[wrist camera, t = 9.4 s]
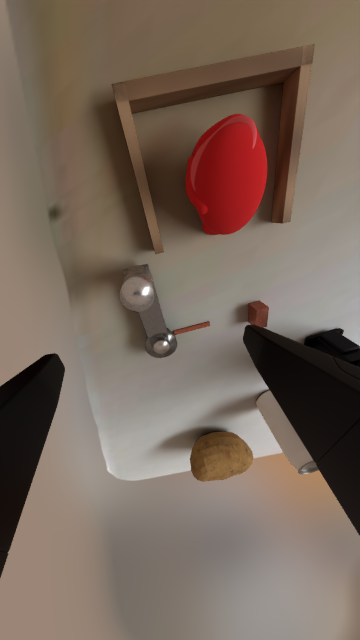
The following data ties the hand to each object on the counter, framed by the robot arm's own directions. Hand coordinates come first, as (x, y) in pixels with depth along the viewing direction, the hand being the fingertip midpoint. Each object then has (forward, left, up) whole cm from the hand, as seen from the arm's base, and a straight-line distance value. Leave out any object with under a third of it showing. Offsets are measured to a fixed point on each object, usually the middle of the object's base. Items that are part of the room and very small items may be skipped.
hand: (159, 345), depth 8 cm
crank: (-5, +1, -11) cm, 12 cm away
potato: (-41, -4, -13) cm, 43 cm away
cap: (+6, -8, -13) cm, 16 cm away
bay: (+7, -8, -13) cm, 16 cm away
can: (-32, -17, -13) cm, 38 cm away
